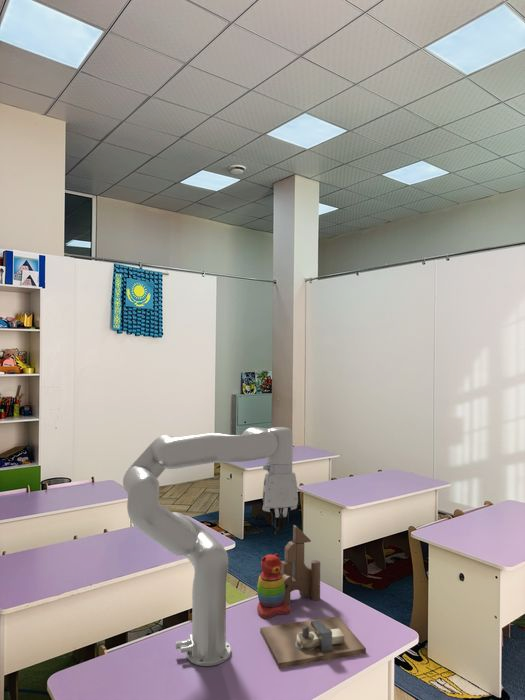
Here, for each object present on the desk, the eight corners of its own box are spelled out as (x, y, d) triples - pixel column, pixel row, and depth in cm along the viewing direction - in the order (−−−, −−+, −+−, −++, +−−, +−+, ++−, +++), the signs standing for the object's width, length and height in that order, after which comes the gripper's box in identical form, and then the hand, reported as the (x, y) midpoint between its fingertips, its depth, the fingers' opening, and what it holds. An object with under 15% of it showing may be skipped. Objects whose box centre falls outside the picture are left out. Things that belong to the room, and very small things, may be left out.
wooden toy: (281, 607, 167) (281, 532, 167) (273, 598, 173) (274, 526, 174) (321, 599, 172) (322, 527, 173) (312, 591, 179) (313, 521, 179)
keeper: (322, 653, 138) (322, 633, 138) (310, 637, 146) (310, 618, 146) (331, 651, 139) (332, 631, 139) (320, 635, 147) (320, 616, 147)
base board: (278, 668, 134) (278, 662, 134) (260, 632, 151) (260, 626, 151) (365, 653, 141) (365, 647, 141) (338, 620, 158) (338, 615, 158)
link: (299, 649, 139) (299, 633, 139) (294, 639, 144) (294, 624, 144) (344, 643, 142) (344, 627, 142) (338, 634, 147) (338, 619, 147)
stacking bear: (262, 619, 159) (262, 563, 159) (251, 605, 168) (250, 552, 169) (292, 613, 163) (292, 558, 163) (280, 599, 172) (279, 547, 173)
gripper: (259, 472, 145) (259, 535, 144) (307, 469, 149) (307, 531, 149) (253, 467, 152) (252, 527, 152) (298, 464, 156) (298, 523, 156)
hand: (279, 529), depth 150 cm, fingers closed
